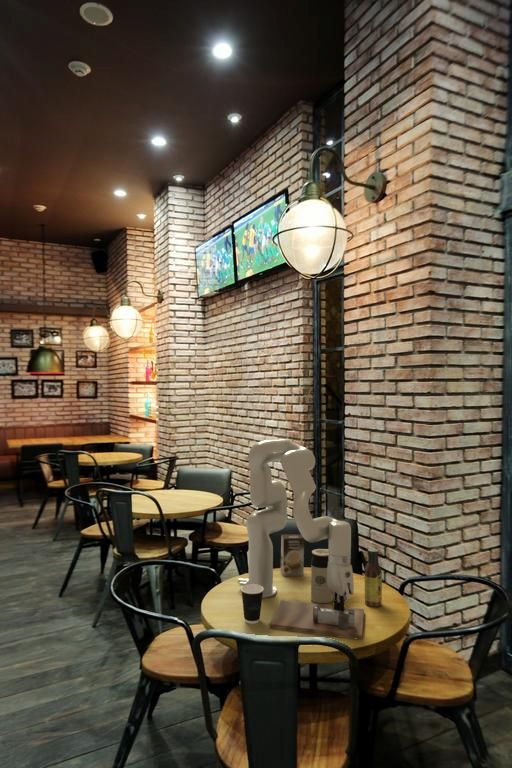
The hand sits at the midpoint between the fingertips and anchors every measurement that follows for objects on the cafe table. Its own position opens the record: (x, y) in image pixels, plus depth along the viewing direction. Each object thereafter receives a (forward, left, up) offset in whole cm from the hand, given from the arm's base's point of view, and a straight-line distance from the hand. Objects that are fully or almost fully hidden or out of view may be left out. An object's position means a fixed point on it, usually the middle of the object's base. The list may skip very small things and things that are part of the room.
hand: (338, 612), depth 173 cm
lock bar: (-1, -6, -1) cm, 6 cm away
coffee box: (-24, +42, -4) cm, 48 cm away
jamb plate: (-7, 0, -3) cm, 8 cm away
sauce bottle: (+11, +19, -4) cm, 22 cm away
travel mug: (-8, +18, -4) cm, 20 cm away
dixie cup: (-29, -6, -4) cm, 30 cm away
